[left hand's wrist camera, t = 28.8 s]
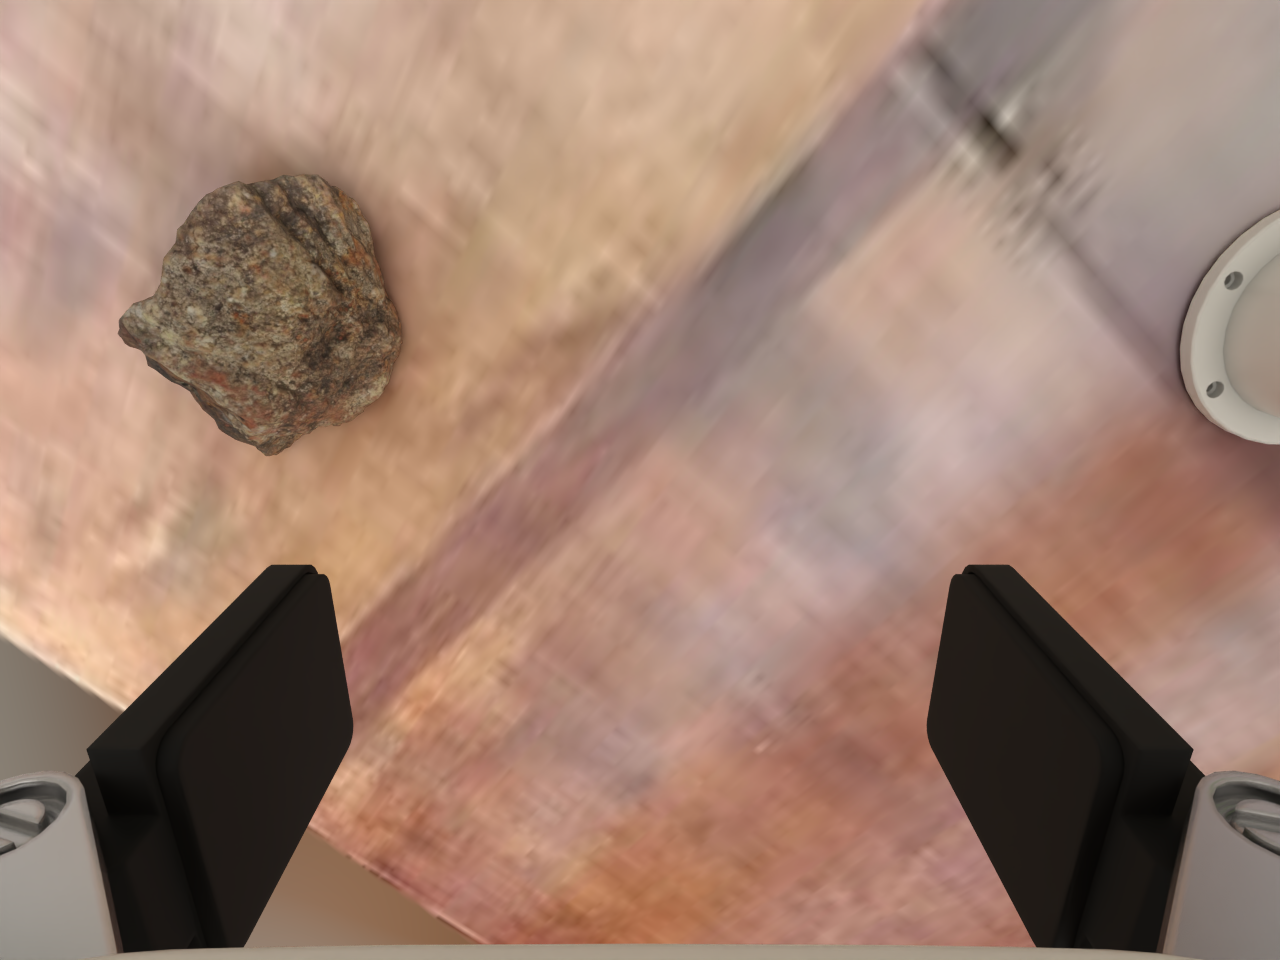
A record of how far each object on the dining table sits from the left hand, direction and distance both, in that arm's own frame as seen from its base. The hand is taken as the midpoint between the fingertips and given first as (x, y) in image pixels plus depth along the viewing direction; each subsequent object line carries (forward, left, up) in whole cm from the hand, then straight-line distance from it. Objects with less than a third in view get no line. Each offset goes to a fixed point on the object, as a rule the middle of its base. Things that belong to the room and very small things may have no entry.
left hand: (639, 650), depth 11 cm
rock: (+16, +7, -29) cm, 34 cm away
